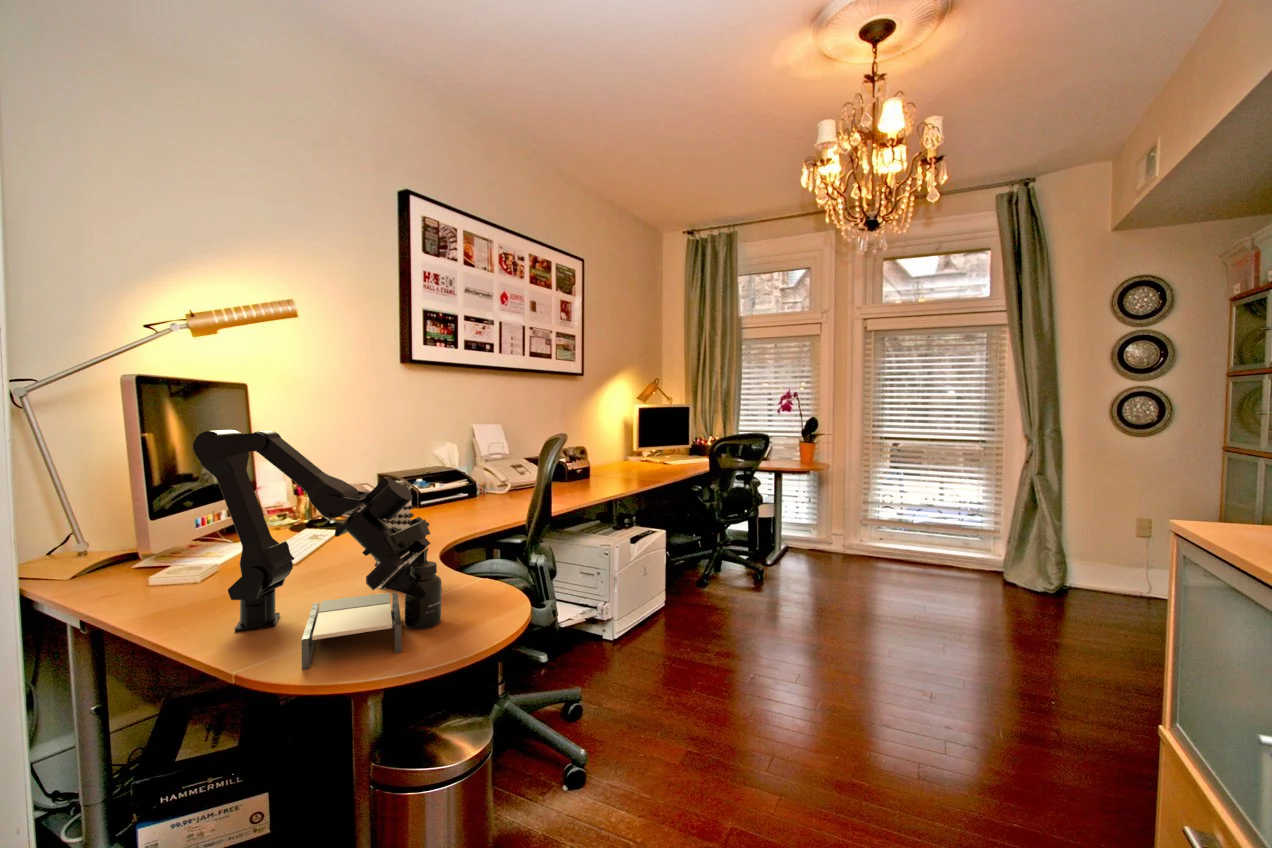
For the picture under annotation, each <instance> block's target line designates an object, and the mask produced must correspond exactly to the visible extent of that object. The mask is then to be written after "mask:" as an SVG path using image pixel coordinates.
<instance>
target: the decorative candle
mask: <svg viewBox="0 0 1272 848" xmlns="http://www.w3.org/2000/svg"><path fill="white" fill-rule="evenodd" d="M395 481H396V482H398V483H400V484H401V485H402V486H403V485H404V486H405V487H406V488H407V489H408V490H409V491H410V493H411V494H412V492H411V490H412V488H413V487H412V486H410V485H409V483H408V482H407V481H405V480H395ZM412 500H413V499H412ZM412 500H411V501H410V502H409V503H408V504H407V505H406V506H405V507H404V508H403V509H402V510H401V511H400V512H398V513H397V514H396V515H395V516H394V517H393V518H392V519H391V520H388V519H384V520H382V521H383V522H384V523H385V524H386V525H387V526H388V527H389V528H392V527H396V528H397V529H398V530H403V529H405V528H407V527H409V526H410V521H411V520H412V519H411V518H413V517H414V516H415V514H414V513H412V512H411V511H412V510H414V509H415V505H413V504H412ZM374 561H375V564H374V567H375V568H376V567H377V566H378V565H379V564H380V563H379V562H378V561H377V560H376V559H375V558H374ZM385 583H386V582H385V581H383V582H382V583H381V585H380V586H379V587H378V588H377V589H380V588H381V587H382V586H383V585H384V584H385ZM383 590H387V589H386V588H384V589H383Z"/></svg>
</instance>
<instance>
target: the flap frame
mask: <svg viewBox="0 0 1272 848" xmlns="http://www.w3.org/2000/svg"><path fill="white" fill-rule="evenodd" d="M398 593H399V592H392V593H391V599H392V603H391V616H392V629H393V630H392V631H393V641H394V642H393V643H394V644H393V645H394V654H395V655H397V654H401V653H402V618H401V611H400V610H401V608H400V602H399V594H398ZM319 609H320V602H312V605H311V609H310V611H309V614H308V615H309V616H308V618H307V621H306V624H305V628H304V630H303V635H302V637H301V670H306V669H307V670H308V669H310V666H311V662H312V657H313V654H314V650H315V645H316V641H317V639H316V640H312V635H313V632H314V628H315V624H316V621H317V617H318V613H319Z"/></svg>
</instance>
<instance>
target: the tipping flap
mask: <svg viewBox="0 0 1272 848" xmlns="http://www.w3.org/2000/svg"><path fill="white" fill-rule="evenodd" d="M391 610H392V603H391V593H390V592H385V593H375V594H368V595H360V596H351V597H345V598H344V597H343V598H337V599H336V598H335V599H328V600H321V602H320V604H319V613H318V617H317V621H316V624H315V628H314V632H313V635H312V640H316V641H317V640H322V639H328V638H335V637H341V636H347V635H348V636H349V635H355V634H362V633H366V632H367V633H368V632H374V631H380V630H381V631H382V630H388V629H393V621H392V616H391Z"/></svg>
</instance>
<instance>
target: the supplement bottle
mask: <svg viewBox="0 0 1272 848" xmlns="http://www.w3.org/2000/svg"><path fill="white" fill-rule="evenodd" d="M437 567H438V566H437V562H435V561H429V560H427V561H423V562H417V563H414V564H412V565H411V572H410V574H411V575H412V576H413V578H414V579H415V580H416V581H417V583H418V584H419V585H420V586H421V588H422V589H423V590H424V592H425V593H426V596H425V597H424V598H423V599H420V598H417V597H414V596H411V595H408V594H405V593H404V625H405V627H407V628H408V629H410V630H426V629H430V628H433V627H436V626H437V625H439V624H440V622H441V619H442V590H443V589H442V587H443V585H442V584H443V583H442V578H441V577H440V576H439V575H438V574H437V573H438V569H437Z"/></svg>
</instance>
